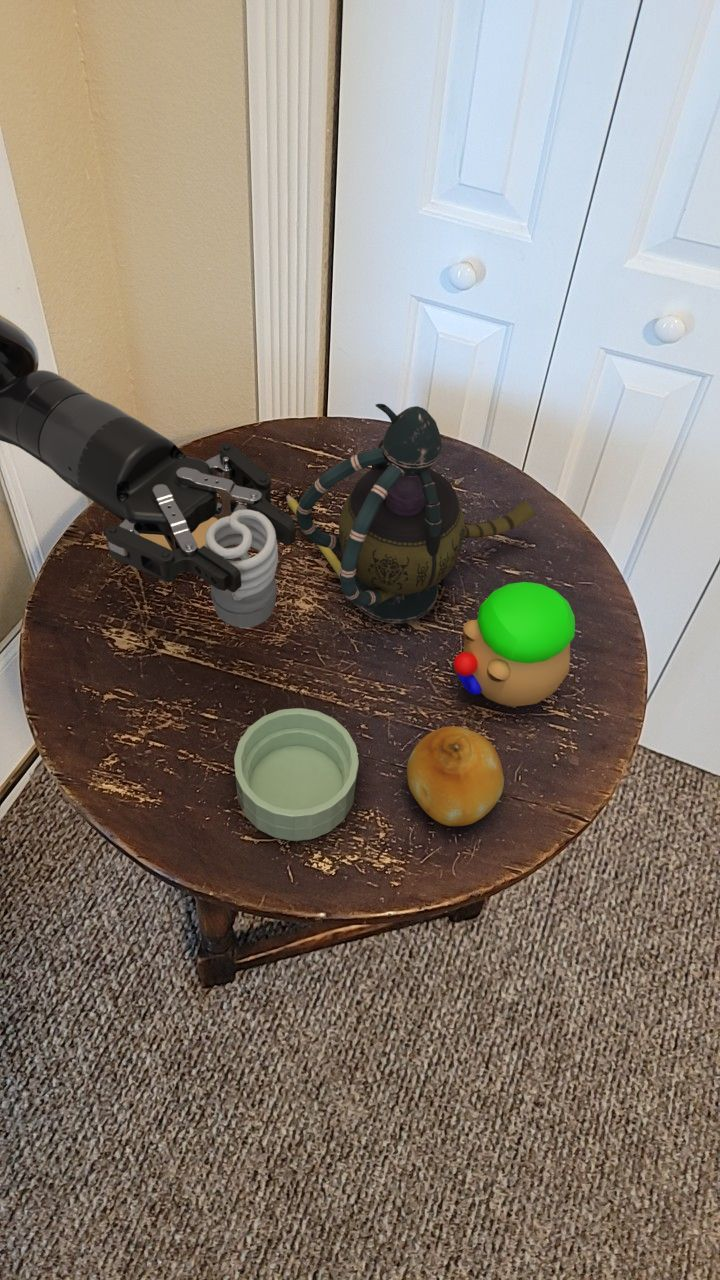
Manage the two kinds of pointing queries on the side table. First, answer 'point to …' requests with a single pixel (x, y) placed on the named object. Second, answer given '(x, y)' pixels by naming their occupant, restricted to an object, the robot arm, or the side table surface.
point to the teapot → (398, 521)
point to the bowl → (296, 773)
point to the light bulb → (246, 567)
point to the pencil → (326, 551)
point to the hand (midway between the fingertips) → (265, 558)
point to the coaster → (197, 534)
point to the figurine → (517, 645)
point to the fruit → (455, 775)
